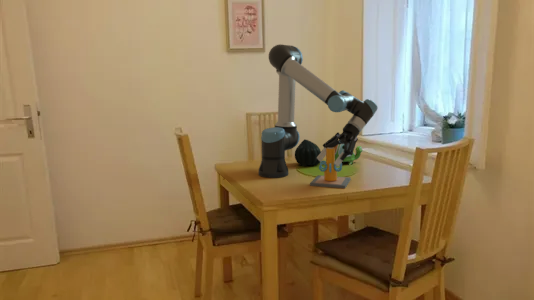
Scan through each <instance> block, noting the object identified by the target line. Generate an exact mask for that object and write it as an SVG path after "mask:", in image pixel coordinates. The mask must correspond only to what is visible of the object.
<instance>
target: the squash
mask: <svg viewBox="0 0 534 300" xmlns="http://www.w3.org/2000/svg"><path fill="white" fill-rule="evenodd" d="M321 151H322V150H321V149H320V147H319V146H318V145H317V144H316V143H314V142H312V141H310V140H309V139H303V140H302V141H301V142H300V143H299V145H297V147H296V149H295V150H294V159H295V161H296V163H297V164H298V165H300V166H302V167H307V166H314V165H315V166H318V165H320V161H319V160H318V159H317V157H318V155H319V154H320V153H321Z"/></svg>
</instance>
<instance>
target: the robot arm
mask: <svg viewBox="0 0 534 300" xmlns="http://www.w3.org/2000/svg"><path fill="white" fill-rule="evenodd" d="M303 60H304V59H303V52H302V51H301V49H299V48H298V47H296V46H294V45H289V44H287V45H286V44H281V43H280V44H275V45H273V47H272V48H270V50H269V53H268V61H269V62H268V63H269V64H270V65H271V66H272V67H273V68H275V70H276V73H277V75H278V100H277V101H278V102H277V103H278V104H277V109H278V110H277V122H276V123H275V124H274V127H269V128H267V127H266V128H265V129H263V130H262V131H261V138H260V139H261V162H260V165H259V169H258V176H259V177H264V178H270V179H271V178H273V179H275V178H284V177H288V175H289V168H288V165H287V162H286V151H288V150H292V149H294V148H295V147H296V146H298V144H299V142H300V139H301V138H300V132H299V131H298V130H297V126H298V125H297V124H296V122H295V105H296V103H295V102H296V83H298V84H299V85H300V86H302V87H303V88H305V89H306V90H307V91H308V92H309V93H311V94H312V95H314V96H315V97H317V99H319V100H320V101H322V102H323V104H326V105H327V107H328V109H329V110H330V111H331V112H333V113H341V112H344V111H346V112H349V113H350V114H352V116H351V118H350V119H349V120H348V122H347V123H346V124H345V125H344V127H342V132H341V133H340V132H336V133H335V135H333V136H332V137H331V138H330V139H328V140H326V141H325V142H324V143H323V144H322V147H323V149H322V150H320V151H321V153H320V154H319V155H318V157H317V159H318V160H319V161H320V162H321V161H323V160H324V158H326V148H333V147H335V146H336V145H338V144H344V151H343V152H342V153H341V154H340V155H339V157H338V158H337V159H336V161H335V162H334V164H335V165H336V168H339V167H340V164H341V163H342V161H343V160H344V159H345V158H346V157H347V156H348V155H352V154H353V151H355V149H356V143H358V141H359V138H358V136H359V135H360V134H361V132H362V131H363V130H364V128H365V127H366V126H367V124H368V123H369V121H370V120H371V119H372V118H373V117H374V115H375V113H376V112H377V110H378V105H377V103H376V102H375V101H373V100H371V99H369V98H367V99H365V100H361V99H359V98H357V97H356V96H354V95H352V94H351V93H349V92H348V91H345V90H344V89H343V90H340V91H339V92H338V91H337V90H336V89H335V88H333V87H332V86H331V85H329V84H328V83H326V82H325V81H323V79H321V78H319V77H318V76H317V75H316V74H314V73H313V72H312V71H310V70H309V69H307V68H306V67H304V66H303V65H302V63H303ZM350 150H351V151H350Z"/></svg>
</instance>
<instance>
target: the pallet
mask: <svg viewBox="0 0 534 300" xmlns="http://www.w3.org/2000/svg"><path fill="white" fill-rule="evenodd" d="M350 181H352V180H351V177H349V176H348V177H347V176H337V180H336V181H326V180H324V175H317V176H315V177H314V178H313V179H312V180H311V181H310V183H309V186H311V187H322V188H334V189H335V188H338V189H346V187H347V186H348V185H349V183H350Z"/></svg>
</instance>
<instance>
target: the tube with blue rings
mask: <svg viewBox="0 0 534 300" xmlns="http://www.w3.org/2000/svg"><path fill="white" fill-rule="evenodd" d="M334 162H335V148H326V156H325V160H322V161H321V162H320V163H319V164H318V165H319V166H318V169H319V171H320V172H323V176H324V180H326V181H336V180H337V177H338V173H339V172H341V171H342V169H343V163H342V162H341V164H340V165H339V166H338V167H337V166H336V165H335V164H334ZM322 165H325V167H323V166H322Z"/></svg>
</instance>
